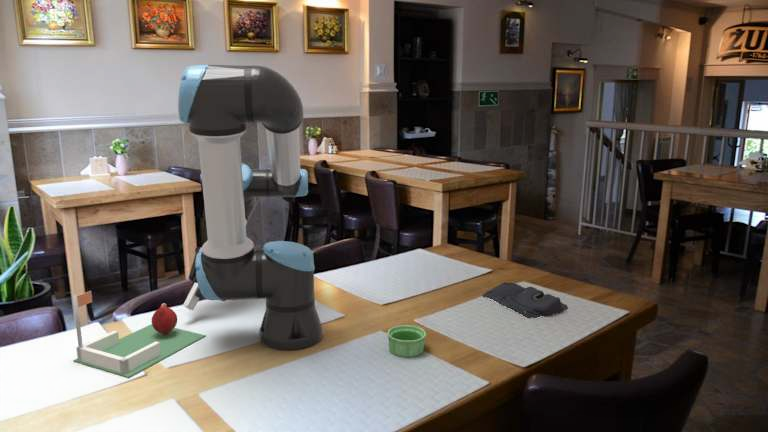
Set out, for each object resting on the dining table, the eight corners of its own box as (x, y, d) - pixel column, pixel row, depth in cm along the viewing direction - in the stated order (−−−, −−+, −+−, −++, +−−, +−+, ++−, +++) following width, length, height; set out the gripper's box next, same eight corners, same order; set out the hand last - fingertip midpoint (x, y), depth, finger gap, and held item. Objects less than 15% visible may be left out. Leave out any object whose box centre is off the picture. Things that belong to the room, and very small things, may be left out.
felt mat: (205, 336, 141) (205, 335, 141) (128, 378, 121) (128, 376, 121) (154, 324, 148) (154, 322, 148) (73, 361, 128) (73, 360, 128)
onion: (169, 340, 138) (167, 309, 136) (148, 338, 139) (145, 307, 137) (182, 330, 143) (180, 300, 142) (161, 328, 145) (159, 298, 143)
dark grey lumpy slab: (516, 288, 178) (517, 273, 177) (572, 311, 160) (573, 295, 159) (477, 297, 170) (478, 281, 169) (532, 322, 152) (533, 305, 151)
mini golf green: (160, 354, 131) (155, 292, 127) (124, 374, 122) (117, 307, 119) (115, 342, 137) (109, 282, 133) (77, 360, 128) (70, 296, 125)
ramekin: (398, 362, 129) (399, 344, 128) (380, 346, 137) (380, 329, 136) (432, 354, 133) (433, 336, 132) (413, 339, 141) (413, 322, 140)
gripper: (253, 240, 159) (215, 318, 148) (216, 234, 164) (177, 309, 154) (240, 225, 153) (199, 305, 142) (202, 220, 159) (160, 297, 148)
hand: (188, 307), depth 148 cm, fingers closed
